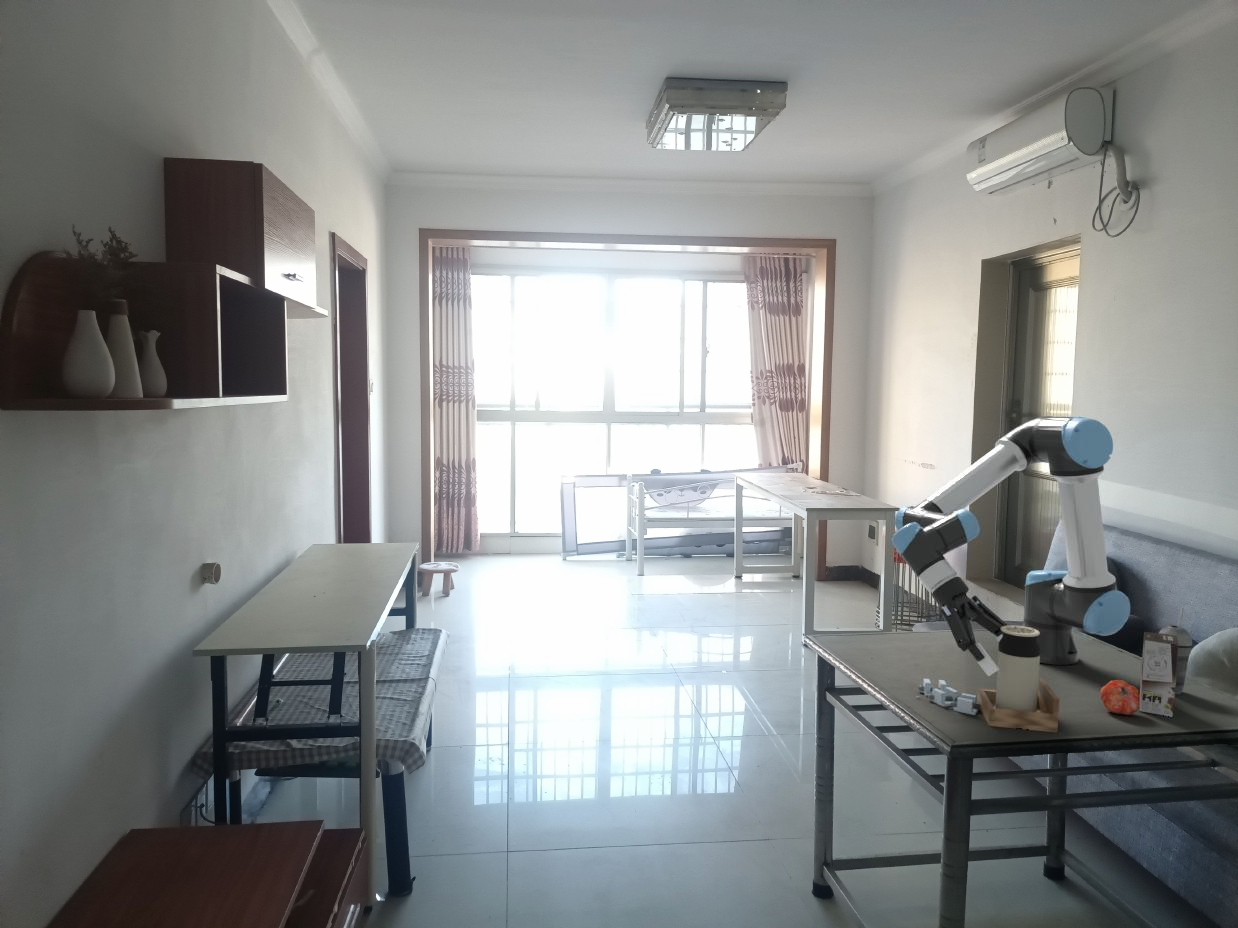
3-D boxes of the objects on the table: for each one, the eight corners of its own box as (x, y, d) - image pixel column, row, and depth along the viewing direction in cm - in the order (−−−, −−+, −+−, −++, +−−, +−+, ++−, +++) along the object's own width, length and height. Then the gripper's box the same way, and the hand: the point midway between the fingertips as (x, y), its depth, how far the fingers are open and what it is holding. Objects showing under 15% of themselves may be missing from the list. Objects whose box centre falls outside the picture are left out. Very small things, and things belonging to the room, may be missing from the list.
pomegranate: (1095, 715, 188) (1098, 699, 181) (1102, 685, 191) (1105, 668, 184) (1134, 726, 184) (1139, 710, 177) (1140, 695, 187) (1144, 678, 180)
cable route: (971, 693, 194) (972, 681, 194) (983, 715, 180) (983, 702, 180) (916, 688, 197) (917, 676, 196) (924, 709, 183) (924, 697, 183)
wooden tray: (1040, 709, 184) (1042, 678, 184) (1057, 732, 172) (1059, 698, 171) (977, 703, 187) (979, 673, 187) (988, 725, 175) (990, 692, 174)
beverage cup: (1150, 683, 204) (1156, 602, 202) (1186, 688, 200) (1192, 606, 199) (1154, 692, 197) (1160, 608, 195) (1191, 698, 194) (1198, 612, 192)
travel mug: (1041, 720, 175) (1046, 635, 174) (1000, 717, 176) (1005, 633, 175) (1029, 707, 183) (1034, 625, 182) (991, 704, 184) (995, 623, 183)
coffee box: (1173, 717, 181) (1179, 644, 180) (1138, 711, 185) (1143, 639, 183) (1172, 705, 189) (1177, 634, 188) (1139, 699, 192) (1143, 630, 191)
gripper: (957, 586, 201) (1018, 663, 191) (904, 601, 184) (968, 687, 174) (981, 568, 196) (1044, 646, 187) (929, 582, 179) (995, 669, 170)
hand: (1007, 666), depth 180 cm, fingers open, 13 cm apart
